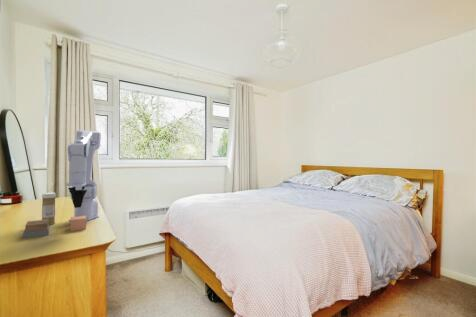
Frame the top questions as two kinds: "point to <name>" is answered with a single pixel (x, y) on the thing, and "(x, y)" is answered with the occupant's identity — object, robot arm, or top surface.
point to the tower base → (36, 233)
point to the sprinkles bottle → (48, 207)
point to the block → (78, 223)
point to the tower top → (36, 225)
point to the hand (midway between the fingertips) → (76, 205)
